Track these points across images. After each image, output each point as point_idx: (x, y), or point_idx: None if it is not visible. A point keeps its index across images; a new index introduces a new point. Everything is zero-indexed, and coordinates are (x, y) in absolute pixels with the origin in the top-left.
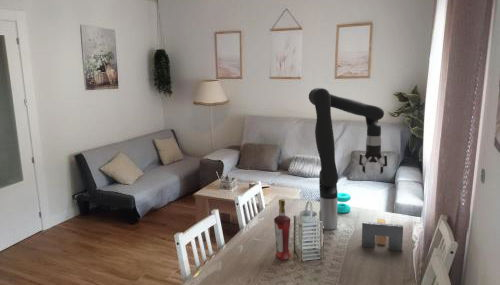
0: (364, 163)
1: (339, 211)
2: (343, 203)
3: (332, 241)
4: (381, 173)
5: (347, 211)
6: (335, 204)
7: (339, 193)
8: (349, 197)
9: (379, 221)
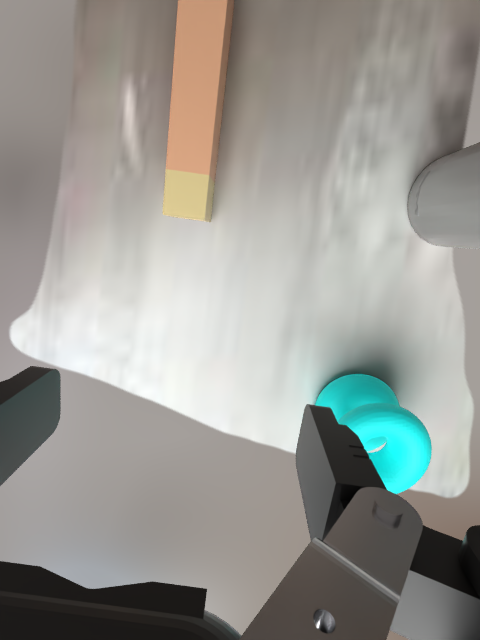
0: (388, 556)
1: (372, 376)
2: None
3: (462, 2)
4: (36, 367)
5: (332, 381)
6: None
7: (394, 481)
8: None
9: (197, 175)
